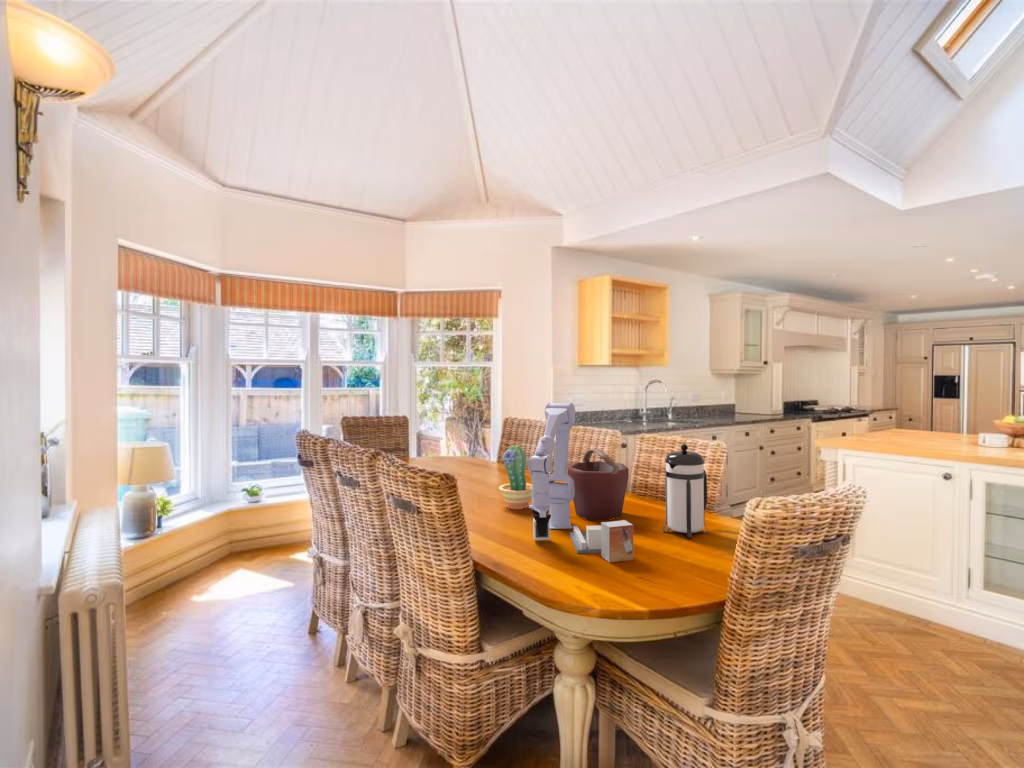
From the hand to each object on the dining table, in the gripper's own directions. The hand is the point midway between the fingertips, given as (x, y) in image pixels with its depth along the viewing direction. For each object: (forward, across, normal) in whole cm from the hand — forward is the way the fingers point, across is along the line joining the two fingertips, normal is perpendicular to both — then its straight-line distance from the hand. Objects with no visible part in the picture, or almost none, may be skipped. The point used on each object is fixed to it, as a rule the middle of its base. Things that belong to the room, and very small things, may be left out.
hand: (541, 533), depth 172 cm
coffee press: (+3, -6, +50) cm, 50 cm away
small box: (+3, +17, +21) cm, 27 cm away
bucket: (+3, -29, +24) cm, 37 cm away
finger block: (+2, 0, 0) cm, 2 cm away
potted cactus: (+3, -44, -6) cm, 44 cm away
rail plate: (+3, +3, +16) cm, 17 cm away
